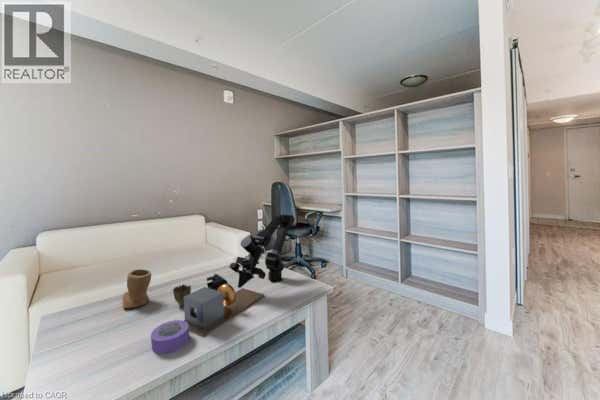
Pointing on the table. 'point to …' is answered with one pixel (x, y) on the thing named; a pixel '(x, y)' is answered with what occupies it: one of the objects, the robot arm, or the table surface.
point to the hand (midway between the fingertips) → (238, 287)
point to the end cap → (216, 282)
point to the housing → (214, 308)
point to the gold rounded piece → (225, 295)
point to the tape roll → (170, 336)
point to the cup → (181, 293)
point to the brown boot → (136, 288)
